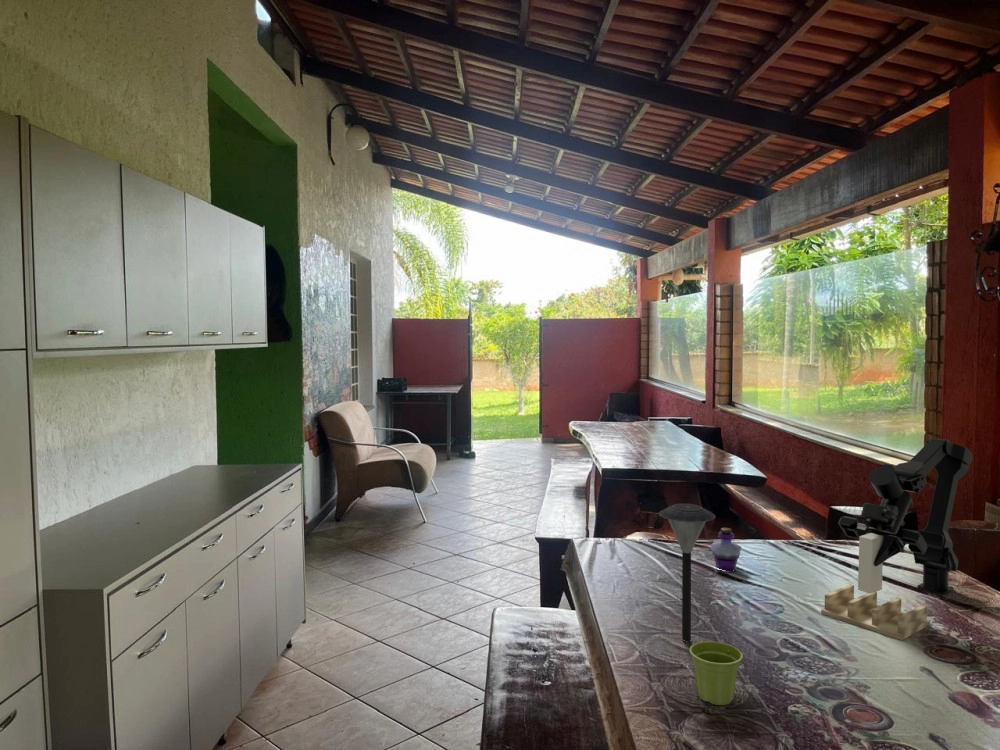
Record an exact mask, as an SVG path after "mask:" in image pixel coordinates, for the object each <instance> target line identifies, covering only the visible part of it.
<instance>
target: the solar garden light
mask: <svg viewBox="0 0 1000 750" xmlns="http://www.w3.org/2000/svg"><path fill="white" fill-rule="evenodd" d="M658 515H659V517H661V518H664V519H667V520H668V522H669V525H670V526H671V530H672V532H673V534H674V537H675V538H676V540H677V542H678V545H679V547H680V549H681V556H682V557H681V558H682V559H681V561H682V562H681V564H682V565H681V566H682V567H681V568H682V573H681V574H682V575H681V580H682V581H681V583H682V584H681V585H682V586H681V588H682V589H681V593H682V595H681V596H682V597H681V601H682V602H681V607H682V608H681V610H682V612H681V613H682V615H681V617H682V618H681V626H682V627H681V639H683V640H685V641H690V640H691V641H692V636H691V635H692V552H693V550H694V547H695V545H696V543H697V541H698V539H699V537H700V535H701V533H702V530H703V528H704V527H705V524H706V522H710V521H712V520H715V518H717V517H716V515H715V514H714V513H712V511H710V510H708V509H706V508H704V507H702V506H701V505H697V504H694V503H676V504H672V505H670V506H668V507H666V508H664V509H662V510H661V511H659V512H658ZM683 640H682V641H683ZM685 641H684V642H685ZM691 641H690V642H691Z"/></svg>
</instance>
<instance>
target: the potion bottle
mask: <svg viewBox="0 0 1000 750" xmlns="http://www.w3.org/2000/svg"><path fill="white" fill-rule="evenodd" d="M732 531H733V529H732V528H729V527H721V528H720V531H719V532H718V533H717V537H718V538H719V539H720V541H714V542H713V543H711V544H710V548H711V554H712V555H713V559H714V563H715V568H716V567H717V568H719V569H722V570H726V571H733V570H735V571H736V568H737V564H738V560H739V558H740V555H741V552H742V551H741V550H742V546H741V545H739V544H737V543H735V542H732V540H733V539H734V538H735V533H733V532H732Z"/></svg>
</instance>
